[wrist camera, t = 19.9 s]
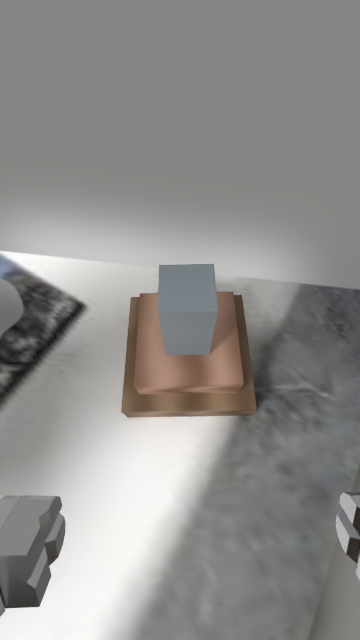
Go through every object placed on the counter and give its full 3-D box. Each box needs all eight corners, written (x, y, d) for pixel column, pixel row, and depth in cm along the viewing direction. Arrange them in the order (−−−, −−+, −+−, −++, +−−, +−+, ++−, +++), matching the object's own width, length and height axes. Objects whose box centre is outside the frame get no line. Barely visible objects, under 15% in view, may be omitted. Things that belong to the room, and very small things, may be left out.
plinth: (127, 417, 37) (113, 404, 30) (135, 311, 45) (125, 281, 38) (250, 415, 37) (265, 402, 30) (237, 309, 44) (246, 278, 37)
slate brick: (165, 355, 33) (157, 312, 24) (166, 316, 35) (159, 265, 26) (209, 354, 32) (217, 311, 24) (206, 316, 35) (213, 263, 26)
